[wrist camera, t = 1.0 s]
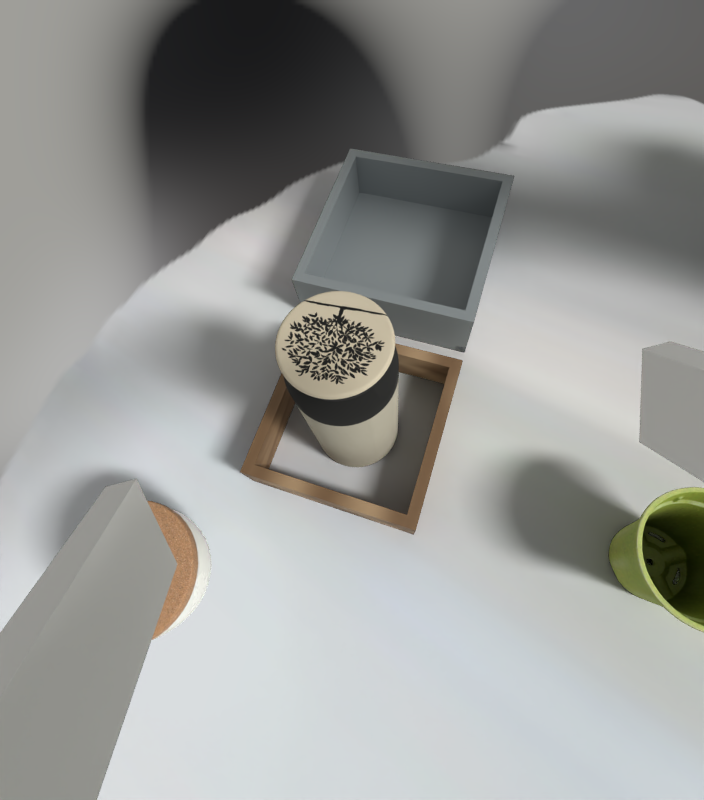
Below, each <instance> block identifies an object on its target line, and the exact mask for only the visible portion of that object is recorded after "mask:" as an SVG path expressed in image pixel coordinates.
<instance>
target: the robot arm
mask: <svg viewBox="0 0 704 800" xmlns="http://www.w3.org/2000/svg"><path fill="white" fill-rule="evenodd" d="M639 442H640V443H642V444H643V445H645V446H646V447H648V448H650V449H651V450H653V451H654V452H656V453H658V454H659V455H661V456H663V457H664V458H666V459H667V460H669V461H671V462H672V463H674V464H675V465H677V466H679V467H680V468H682V469H683V470H685V471H687V472H688V473H690V474H691V475H693V476H695V477H696V478H698V479H700V480H701V481H703V482H704V351H700V350H697V349H694V348H690V347H687V346H684V345H680V344H677V343H674V342H667V343H663V344H659V345H655V346H651V347H647V348H644V349H642V375H641V406H640V437H639ZM176 567H177V562H176V560H175V558H174V556H173V554H172V552H171V549H170V547H169V545H168V543H167V541H166V539H165V537H164V535H163V533H162V531H161V529H160V527H159V524H158V522H157V520H156V518H155V516H154V514H153V512H152V510H151V508H150V506H149V504H148V502H147V500H146V497H145V495H144V493H143V491H142V489H141V487H140V485H139V483H138V481H137V479H133V480H130V481H126V482H122V483H118V484H114V485H110V486H106V487H105V488H104V490H103V491H102V493H101V494H100V495H99V497H98V498H97V499H96V501H95V502H94V504H93V505H92V506H91V508H90V509H89V511H88V512H87V513H86V515H85V516H84V518H83V519H82V520H81V522H80V523H79V524H78V526H77V527H76V529H75V530H74V531H73V533H72V534H71V536H70V537H69V538H68V540H67V541H66V542H65V544H64V545H63V547H62V548H61V549H60V551H59V552H58V554H57V555H56V556H55V558H54V559H53V561H52V562H51V563H50V565H49V566H48V567H47V569H46V570H45V572H44V573H43V574H42V576H41V577H40V579H39V580H38V581H37V583H36V584H35V586H34V587H33V588H32V590H31V591H30V592H29V594H28V595H27V597H26V598H25V599H24V601H23V602H22V604H21V605H20V606H19V608H18V609H17V611H16V612H15V613H14V615H13V616H12V617H11V619H10V620H9V622H8V623H7V624H6V626H5V627H4V629H3V630H2V631H1V633H0V800H97V797H98V795H99V792H100V789H101V786H102V783H103V780H104V777H105V774H106V771H107V768H108V765H109V762H110V760H111V757H112V754H113V751H114V748H115V745H116V742H117V739H118V736H119V733H120V730H121V727H122V724H123V722H124V719H125V716H126V713H127V710H128V707H129V704H130V701H131V698H132V695H133V692H134V689H135V687H136V684H137V681H138V678H139V675H140V672H141V669H142V666H143V663H144V660H145V657H146V654H147V651H148V649H149V646H150V643H151V640H152V637H153V634H154V631H155V628H156V625H157V622H158V619H159V616H160V614H161V611H162V608H163V605H164V602H165V599H166V596H167V593H168V590H169V587H170V584H171V581H172V579H173V576H174V573H175V570H176Z"/></svg>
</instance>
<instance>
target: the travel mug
mask: <svg viewBox="0 0 704 800" xmlns="http://www.w3.org/2000/svg"><path fill="white" fill-rule="evenodd" d="M275 354H276V360H277V363H278V366H279V369H280V370H281V372H282V374H283V377H284V381H285V385H286V387H287V390H288V392H289V393H290V395H291V397H292V398H293V400H294V402H295V403H296V405H297V407H298V408H299V410H300V412H301V413H302V415H303V417H304V418H305V420H306V422H307V423H308V425H309V427H310V428H311V430H312V432H313V433H314V435H315V437H316V438H317V440H318V442H319V443H320V445H321V447H322V448H323V450H324V451H325V453H326V454H327V455H328V456H329V457H330V458H331V459H333V460H334V461H336V462H337V463H340V464H342V465H345V466H349V467H363V466H368V465H371V464H374V463H376V462H378V461H379V460H381V459H382V458H383V457H385V456H386V455H387V454H388V452H389V451H390V450H391V448H392V447H393V445H394V443H395V441H396V438H397V433H398V383H399V359H398V353H397V349H396V346H395V334H394V330H393V326H392V324H391V321H390V319H389V318H388V316H387V315H386V313H385V312H384V311H383V309H382V308H381V307H380V306H379V305H377V304H376V303H375V302H373V301H372V300H370V299H369V298H367V297H365V296H362V295H360V294H356V293H352V292H346V291H331V292H325V293H321V294H317V295H315V296H312V297H310V298H308V299H306V300H304V301H303V302H301V303H300V304H298V305H297V306H296V307H295V308H293V309H292V310H291V311H290V312H289V314H288V315H287V316H286V317H285V319H284V320H283V322H282V324H281V326H280V328H279V330H278V333H277V337H276V342H275Z"/></svg>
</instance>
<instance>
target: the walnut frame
mask: <svg viewBox="0 0 704 800" xmlns="http://www.w3.org/2000/svg"><path fill="white" fill-rule="evenodd" d="M395 346H396V349H397V353H398V359H399V372H401V373H405V374H409V375H412V376H416V377H420V378H424V379H427V380H431V381H435V382H439V383H443V384H444V388H443V391H442V395H441V398H440V402H439V405H438V409H437V412H436V416H435V419H434V423H433V426H432V430H431V433H430V437H429V440H428V444H427V447H426V451H425V454H424V458H423V461H422V464H421V468H420V471H419V475H418V478H417V482H416V485H415V489H414V492H413V496H412V499H411V503H410V506H409V510H408V513H407V515H406V514H403V513H400V512H397V511H394V510H391V509H388V508H384V507H381V506H378V505H375V504H372V503H369V502H366V501H363V500H360V499H357V498H354V497H351V496H348V495H345V494H342V493H339V492H336V491H333V490H330V489H327V488H324V487H321V486H318V485H315V484H311V483H308V482H305V481H302V480H299V479H296V478H293V477H290V476H287V475H284V474H281V473H278V472H275V471H272V470H269V467H270V464H271V462H272V459H273V457H274V454H275V452H276V449H277V447H278V444H279V442H280V439H281V437H282V434H283V432H284V429H285V427H286V424H287V422H288V419H289V417H290V414H291V412H292V409H293V407H294V404H295V402H294V400H293V398H292V397H291V395H290V393H289V392H288V390H287V387H286V385H285V381H284V377H283V374H282V373H281V376H280V378H279V380H278V383H277V385H276V387H275V390H274V392H273V395H272V397H271V399H270V402H269V404H268V407H267V409H266V411H265V414H264V416H263V418H262V421H261V423H260V426H259V428H258V430H257V433H256V435H255V437H254V440H253V442H252V445H251V447H250V449H249V452H248V454H247V456H246V459H245V461H244V464H243V466H242V468H241V471H240V472H241V473H242V474H244V475H245V476H247V477H249V478H250V479H252V480H253V481H256V482H259V483H262V484H265V485H268V486H271V487H274V488H277V489H280V490H283V491H286V492H289V493H292V494H295V495H298V496H301V497H304V498H307V499H310V500H313V501H316V502H319V503H322V504H324V505H327V506H330V507H333V508H336V509H339V510H342V511H345V512H348V513H351V514H354V515H357V516H360V517H363V518H366V519H369V520H372V521H375V522H378V523H381V524H384V525H387V526H390V527H393V528H396V529H399V530H402V531H405V532H408V533H411V534H414V533H415V531H416V527H417V523H418V520H419V516H420V513H421V509H422V505H423V502H424V498H425V495H426V491H427V487H428V484H429V480H430V477H431V473H432V469H433V466H434V462H435V459H436V455H437V451H438V448H439V444H440V441H441V437H442V433H443V430H444V426H445V423H446V419H447V415H448V412H449V408H450V405H451V401H452V397H453V394H454V390H455V387H456V383H457V379H458V376H459V372H460V369H461V365H462V360H459V359H455V358H451V357H447V356H443V355H439V354H435V353H431V352H427V351H423V350H419V349H415V348H411V347H407V346H403V345H399V344H395Z"/></svg>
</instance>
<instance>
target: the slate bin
mask: <svg viewBox="0 0 704 800" xmlns="http://www.w3.org/2000/svg"><path fill="white" fill-rule="evenodd" d="M513 179H514V176H512V175H506V174H500V173H494V172H488V171H482V170H476V169H470V168H464V167H458V166H452V165H446V164H440V163H434V162H428V161H422V160H416V159H410V158H404V157H398V156H392V155H386V154H380V153H374V152H368V151H362V150H356V149H350V150H349V152H348V155H347V157H346V159H345V161H344V164H343V166H342V168H341V170H340V173H339V175H338V177H337V179H336V182H335V184H334V186H333V188H332V191H331V193H330V195H329V197H328V199H327V202H326V204H325V206H324V208H323V211H322V213H321V215H320V217H319V220H318V222H317V224H316V226H315V229H314V231H313V233H312V235H311V238H310V240H309V242H308V244H307V247H306V249H305V251H304V253H303V256H302V258H301V260H300V262H299V265H298V267H297V269H296V271H295V274H294V276H293V278H292V282H293V284H294V287H295V290H296V293H297V296H298V298H299V301H300V303H301V302H303V301H304V300H306V299H308V298H310V297H312V296H315V295H317V294H321V293H325V292H331V291H346V292H352V293H356V294H360V295H362V296H365V297H367V298H369V299H370V300H372V301H373V302H375V303H376V304H377V305H379V306H380V307H381V308H382V309H383V311H384V312H385V313H386V315H387V316H388V318H389V319H390V321H391V324H392V326H393V330H394V334H395V335H396V336H400V337H404V338H408V339H412V340H416V341H420V342H424V343H428V344H432V345H437V346H441V347H445V348H449V349H453V350H457V351H461V352H465V349H466V346H467V342H468V339H469V336H470V333H471V330H472V326H473V323H474V320H475V316H476V312H477V309H478V305H479V302H480V298H481V294H482V291H483V287H484V284H485V280H486V276H487V273H488V269H489V266H490V262H491V258H492V255H493V251H494V248H495V244H496V240H497V237H498V233H499V230H500V226H501V222H502V219H503V215H504V212H505V208H506V204H507V201H508V197H509V194H510V190H511V186H512V183H513Z"/></svg>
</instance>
